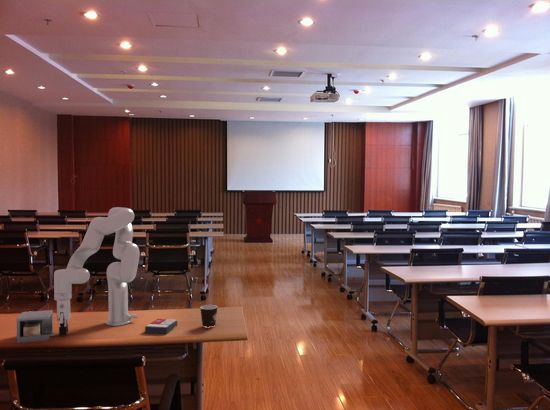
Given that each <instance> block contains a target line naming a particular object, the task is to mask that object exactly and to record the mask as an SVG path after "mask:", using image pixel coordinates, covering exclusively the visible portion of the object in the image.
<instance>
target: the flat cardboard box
mask: <svg viewBox="0 0 550 410" xmlns="http://www.w3.org/2000/svg"><path fill="white" fill-rule="evenodd" d="M175 326H176V327H177V326H178V320H177V319H171V318H170V319H169V318H157V319H155V320H153V321H151V322H150V323H149V324H147V325H145V326H144V334H146V335H160V336H161V335H162V336H163V335H164V336H166V335H168V334H169V333H170V332H171V331H173V330H174V329H175V328H176V327H175ZM174 327H175V328H174ZM173 328H174V329H173ZM172 329H173V330H172Z"/></svg>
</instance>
